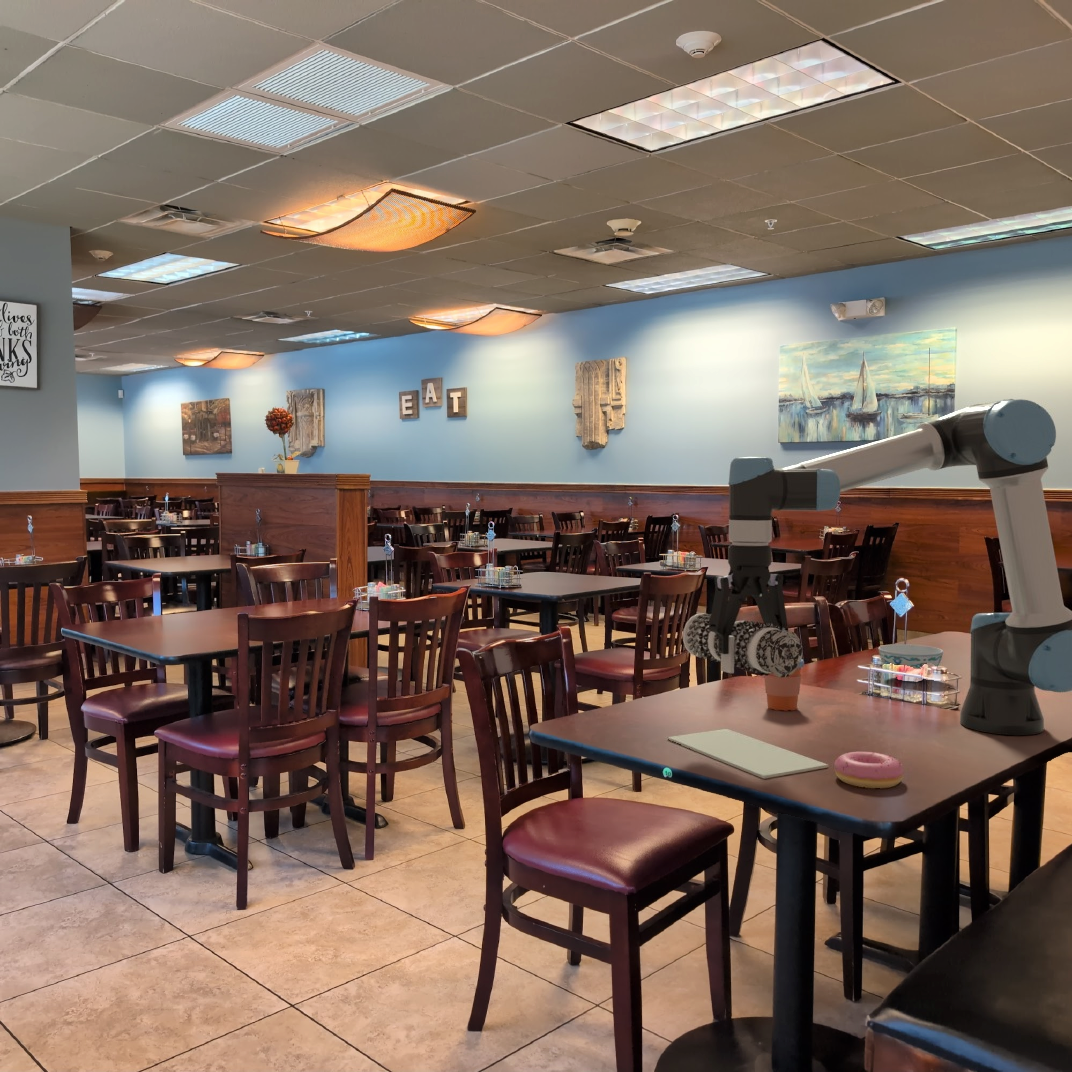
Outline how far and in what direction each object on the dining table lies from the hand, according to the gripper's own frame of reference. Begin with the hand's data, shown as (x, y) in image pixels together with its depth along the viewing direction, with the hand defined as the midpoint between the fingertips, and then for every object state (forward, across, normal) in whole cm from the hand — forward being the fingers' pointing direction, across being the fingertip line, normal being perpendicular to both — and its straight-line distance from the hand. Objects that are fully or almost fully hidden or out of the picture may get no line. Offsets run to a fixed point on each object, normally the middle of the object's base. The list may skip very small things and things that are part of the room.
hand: (748, 669), depth 174 cm
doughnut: (+16, -8, +21) cm, 28 cm away
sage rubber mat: (+16, 0, -1) cm, 16 cm away
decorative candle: (-4, 0, -14) cm, 15 cm away
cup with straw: (+16, -31, -26) cm, 43 cm away
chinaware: (+15, -80, -35) cm, 88 cm away
